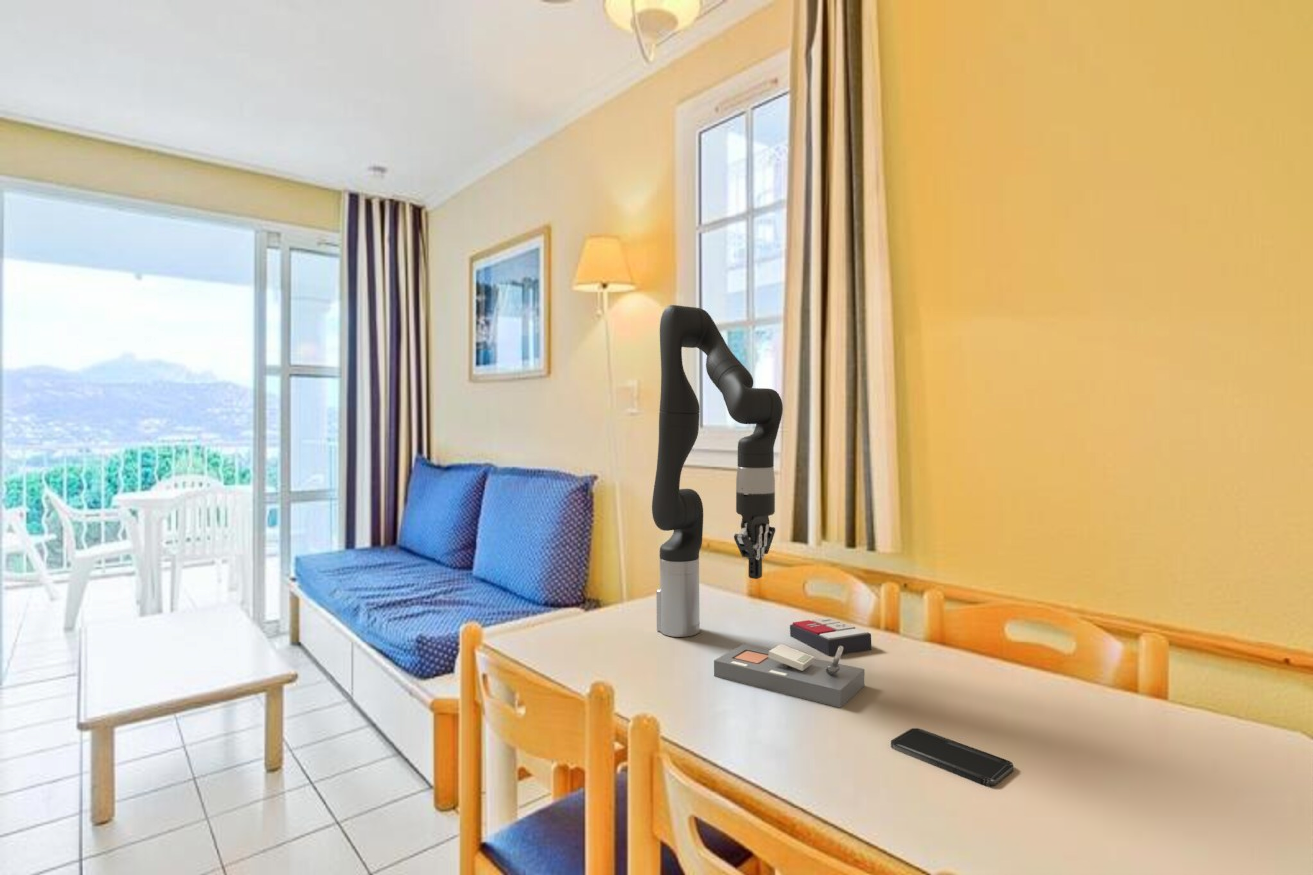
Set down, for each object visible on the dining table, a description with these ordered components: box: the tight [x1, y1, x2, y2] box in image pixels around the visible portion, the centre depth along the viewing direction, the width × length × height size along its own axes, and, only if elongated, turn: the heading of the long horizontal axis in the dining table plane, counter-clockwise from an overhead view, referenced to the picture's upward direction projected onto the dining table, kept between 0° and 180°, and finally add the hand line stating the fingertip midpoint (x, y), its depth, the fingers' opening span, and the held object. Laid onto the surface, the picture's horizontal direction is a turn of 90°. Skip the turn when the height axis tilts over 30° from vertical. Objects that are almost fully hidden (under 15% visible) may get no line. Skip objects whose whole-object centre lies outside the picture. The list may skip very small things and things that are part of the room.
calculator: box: [789, 617, 873, 657], centre depth 146 cm, size 11×4×15 cm
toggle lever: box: [826, 646, 843, 676], centre depth 119 cm, size 2×2×6 cm
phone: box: [890, 727, 1014, 788], centre depth 95 cm, size 8×1×15 cm
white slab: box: [768, 643, 815, 671], centre depth 124 cm, size 7×5×1 cm
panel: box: [713, 643, 865, 709], centre depth 124 cm, size 25×12×4 cm, turn 53°
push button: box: [734, 651, 768, 664], centre depth 129 cm, size 5×5×3 cm
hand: (755, 577), depth 130 cm, fingers closed
